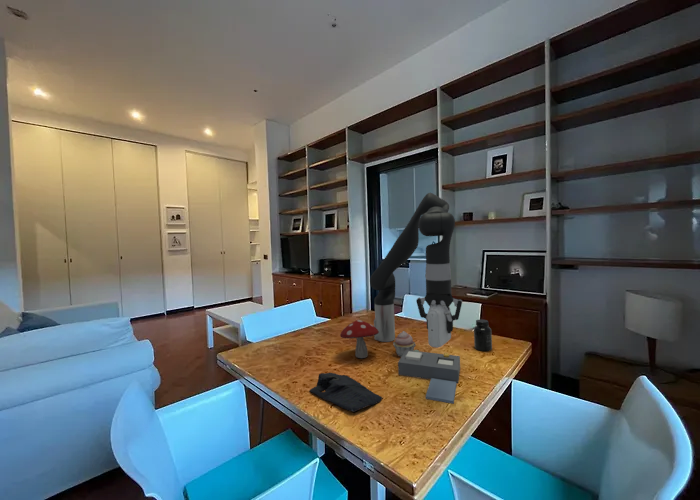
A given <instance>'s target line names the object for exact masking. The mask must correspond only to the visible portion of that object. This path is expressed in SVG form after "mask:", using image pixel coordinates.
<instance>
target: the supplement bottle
mask: <svg viewBox="0 0 700 500" xmlns="http://www.w3.org/2000/svg"><path fill="white" fill-rule="evenodd" d="M492 334H493V333H492V328H491V327H490V325H489V321H488V320H487V319H477V320H475V326H474V327H473V341H474V345H473V346H474V348H475V349H474V350H477V351H479V352H491V351H492V349H493V337H492Z"/></svg>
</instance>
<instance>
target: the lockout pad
mask: <svg viewBox="0 0 700 500" xmlns="http://www.w3.org/2000/svg"><path fill="white" fill-rule="evenodd" d="M456 390H457V383H456V382H455V381H448V380H441V379H435V378H431V379H430V381H429V384H428V387H427V391H426V394H425V400H429V401H430V400H431V401H437V402H441V403H446V404H447V403H448V404H455V398H456Z"/></svg>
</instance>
